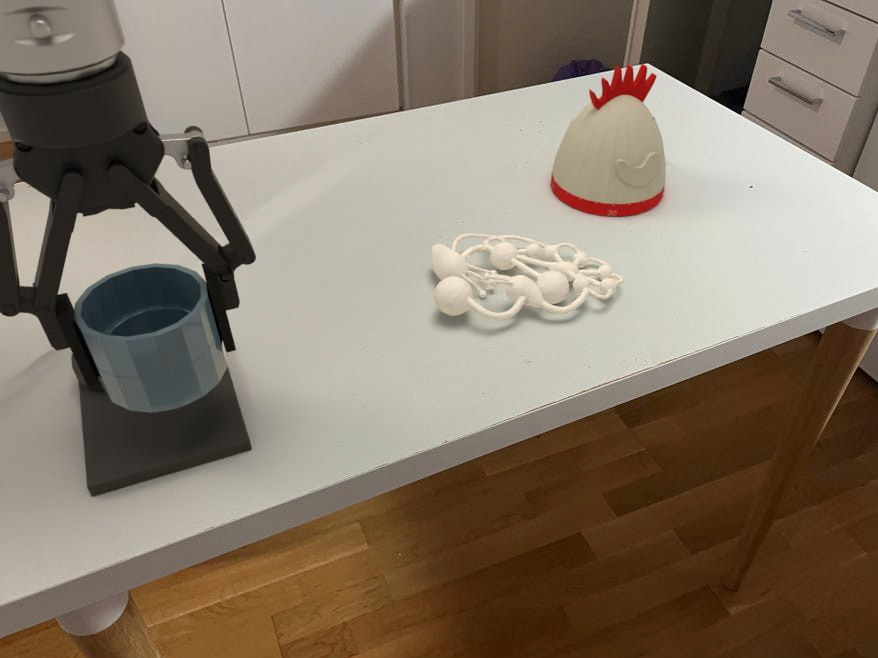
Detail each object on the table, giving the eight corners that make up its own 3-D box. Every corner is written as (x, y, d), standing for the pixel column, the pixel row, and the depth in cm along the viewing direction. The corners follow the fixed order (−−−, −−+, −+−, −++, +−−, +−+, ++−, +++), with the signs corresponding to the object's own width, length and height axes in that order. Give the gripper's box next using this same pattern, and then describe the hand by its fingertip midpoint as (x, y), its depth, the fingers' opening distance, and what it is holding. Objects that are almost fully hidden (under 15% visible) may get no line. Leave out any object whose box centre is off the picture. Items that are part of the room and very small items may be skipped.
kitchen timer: (684, 204, 91) (713, 81, 81) (584, 225, 87) (601, 98, 77) (625, 154, 101) (644, 38, 90) (532, 171, 96) (541, 51, 86)
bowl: (80, 392, 57) (44, 314, 52) (168, 326, 63) (143, 251, 58) (169, 434, 54) (139, 356, 49) (252, 361, 60) (233, 285, 55)
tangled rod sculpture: (599, 253, 85) (605, 219, 82) (634, 325, 73) (642, 289, 71) (427, 255, 83) (427, 221, 80) (436, 331, 71) (436, 294, 69)
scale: (80, 365, 68) (69, 340, 66) (217, 332, 71) (210, 307, 69) (92, 497, 57) (78, 472, 55) (252, 450, 61) (245, 424, 59)
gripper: (-187, 115, 36) (1, 432, 51) (266, 56, 43) (315, 350, 58) (-162, 61, 41) (3, 364, 56) (241, 16, 48) (292, 296, 63)
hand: (161, 357), depth 57 cm, fingers closed on bowl, 9 cm apart
